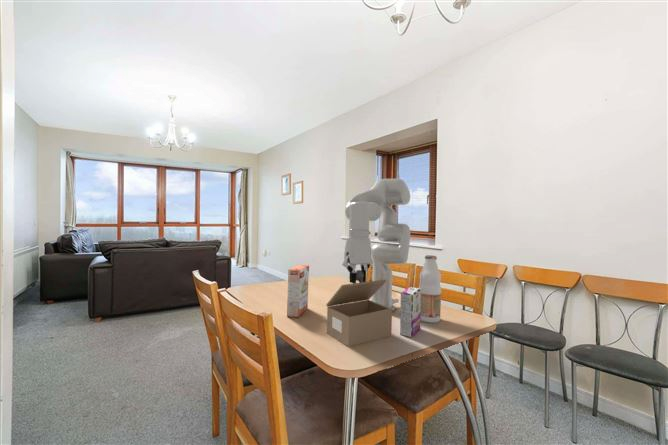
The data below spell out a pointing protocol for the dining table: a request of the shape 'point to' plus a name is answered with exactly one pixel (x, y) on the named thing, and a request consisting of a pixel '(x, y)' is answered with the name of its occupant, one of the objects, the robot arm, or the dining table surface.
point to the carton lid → (356, 291)
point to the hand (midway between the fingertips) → (357, 281)
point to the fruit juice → (430, 290)
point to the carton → (359, 322)
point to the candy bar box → (410, 311)
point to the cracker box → (297, 290)
